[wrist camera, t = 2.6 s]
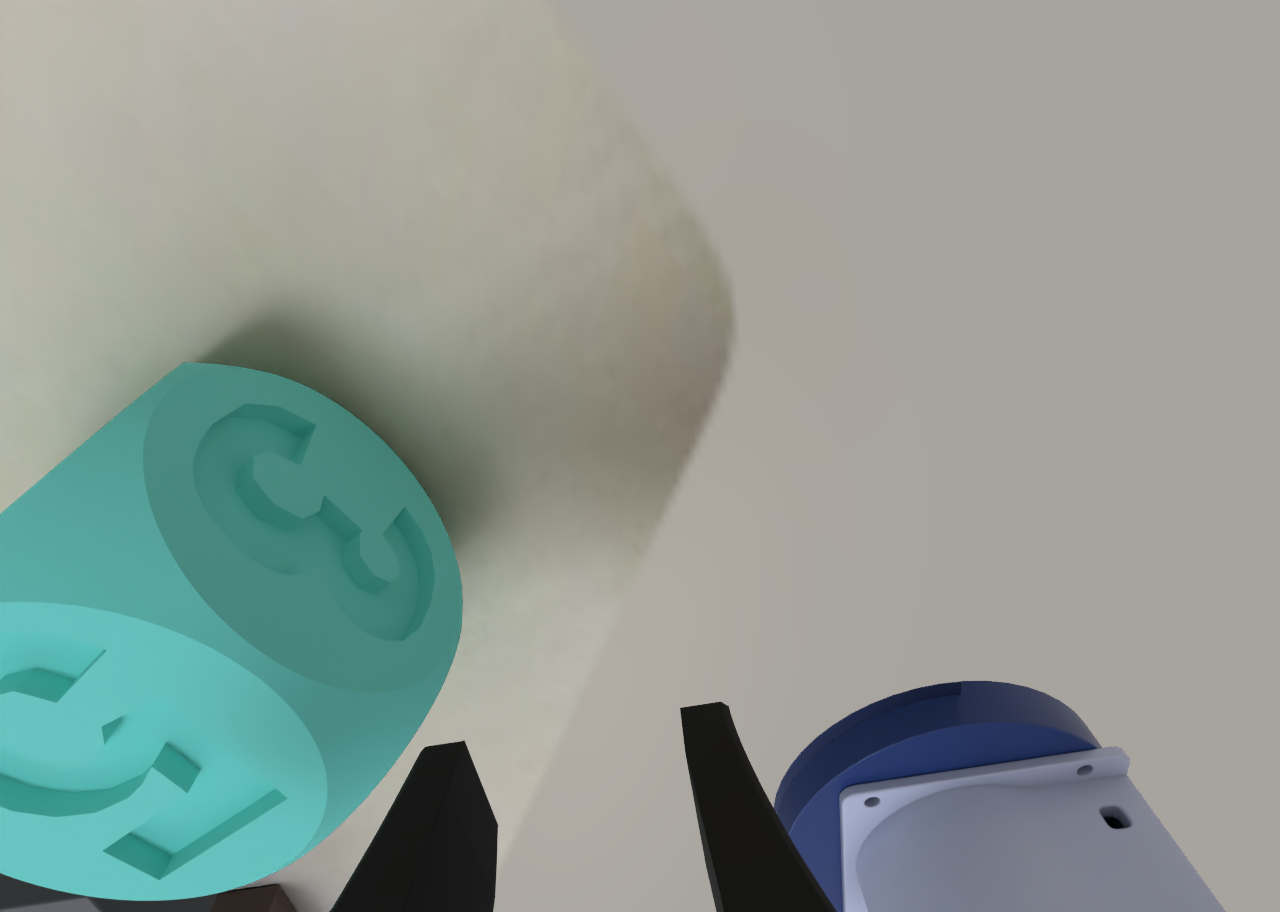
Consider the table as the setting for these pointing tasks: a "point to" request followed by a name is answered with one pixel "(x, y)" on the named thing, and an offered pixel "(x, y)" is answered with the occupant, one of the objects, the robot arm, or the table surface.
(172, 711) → the decorative dice
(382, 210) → the table surface
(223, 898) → the walnut block
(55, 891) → the grey block
